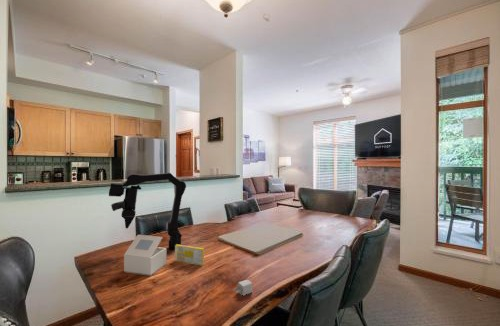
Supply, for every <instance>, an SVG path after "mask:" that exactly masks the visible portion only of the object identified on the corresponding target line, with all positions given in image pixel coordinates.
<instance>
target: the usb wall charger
mask: <svg viewBox="0 0 500 326" xmlns="http://www.w3.org/2000/svg"><path fill="white" fill-rule="evenodd" d="M234 291H235V292H236V293H235V294H240V295H241V296H242V295H243V296H246V294H247V295H249V294H252V293H253V282H252V281H250V280H249V279H245V280H242V281H238V282H237V287H235V288H233V292H234ZM251 292H252V293H251ZM243 296H242V297H243Z"/></svg>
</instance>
